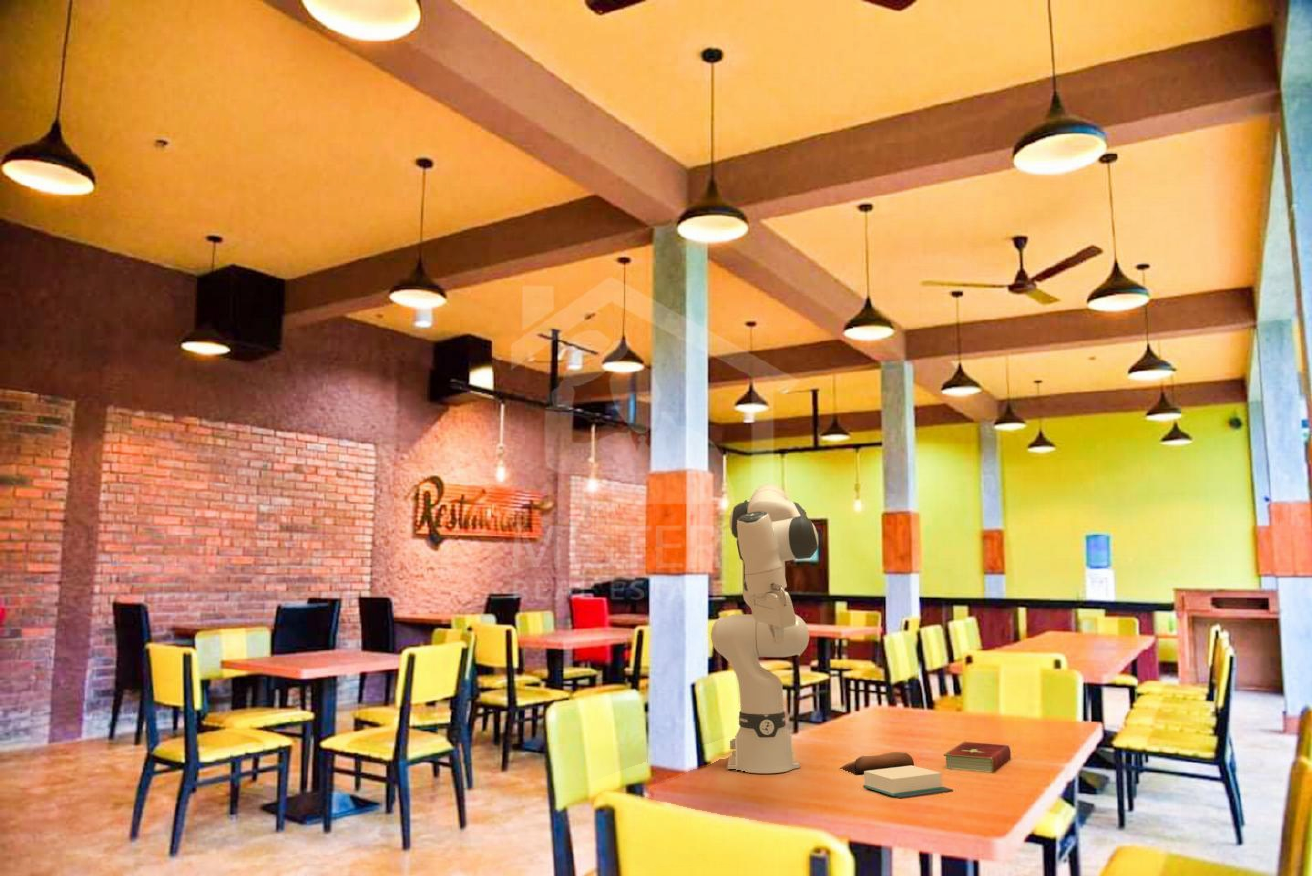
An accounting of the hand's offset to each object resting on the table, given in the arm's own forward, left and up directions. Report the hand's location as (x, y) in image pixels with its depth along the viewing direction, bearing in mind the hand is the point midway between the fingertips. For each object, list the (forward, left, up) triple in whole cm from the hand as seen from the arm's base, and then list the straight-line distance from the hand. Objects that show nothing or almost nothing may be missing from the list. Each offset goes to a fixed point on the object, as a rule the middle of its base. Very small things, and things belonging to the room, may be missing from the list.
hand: (779, 643), depth 205 cm
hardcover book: (-31, +58, -34) cm, 75 cm away
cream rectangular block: (-2, +22, -32) cm, 39 cm away
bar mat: (-5, +30, -34) cm, 45 cm away
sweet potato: (-29, +30, -34) cm, 54 cm away
